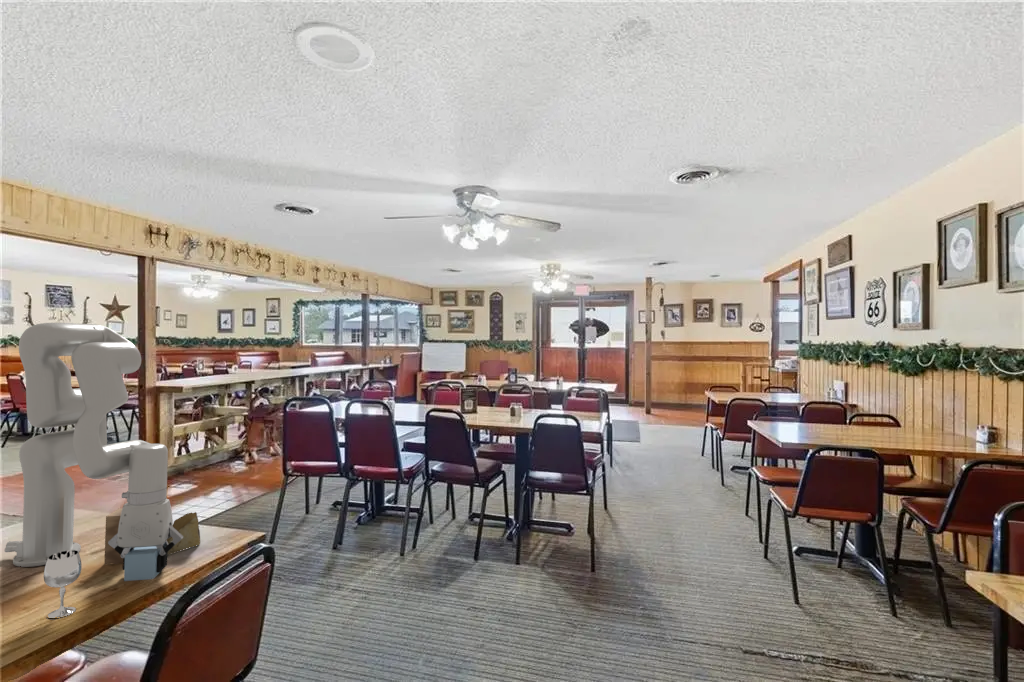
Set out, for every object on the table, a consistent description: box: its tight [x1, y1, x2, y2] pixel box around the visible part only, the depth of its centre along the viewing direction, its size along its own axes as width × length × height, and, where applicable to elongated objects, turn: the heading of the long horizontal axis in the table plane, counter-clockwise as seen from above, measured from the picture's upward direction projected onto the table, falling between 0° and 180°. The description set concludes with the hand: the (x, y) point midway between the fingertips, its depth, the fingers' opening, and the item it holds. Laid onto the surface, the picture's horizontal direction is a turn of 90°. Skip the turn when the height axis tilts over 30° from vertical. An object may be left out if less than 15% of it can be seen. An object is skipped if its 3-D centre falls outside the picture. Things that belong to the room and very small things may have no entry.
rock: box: [167, 511, 201, 555], centre depth 132 cm, size 11×9×10 cm
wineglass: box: [43, 550, 83, 618], centre depth 101 cm, size 6×6×12 cm
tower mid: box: [104, 507, 123, 541], centre depth 126 cm, size 6×6×6 cm
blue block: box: [123, 546, 161, 582], centre depth 118 cm, size 6×6×6 cm
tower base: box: [104, 539, 135, 565], centre depth 126 cm, size 6×6×6 cm
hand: (145, 570), depth 118 cm, fingers closed on blue block, 6 cm apart
